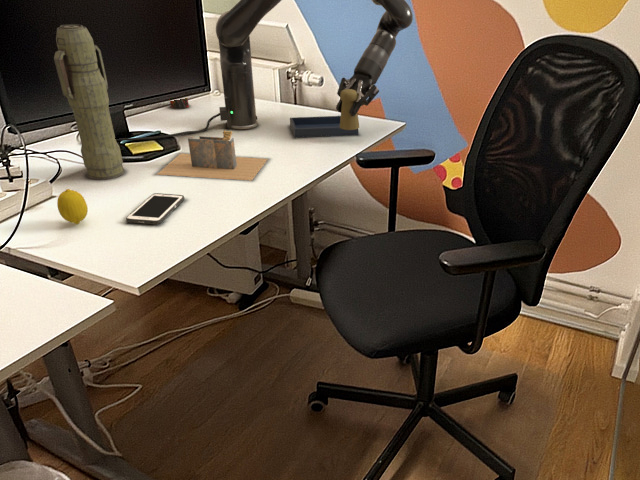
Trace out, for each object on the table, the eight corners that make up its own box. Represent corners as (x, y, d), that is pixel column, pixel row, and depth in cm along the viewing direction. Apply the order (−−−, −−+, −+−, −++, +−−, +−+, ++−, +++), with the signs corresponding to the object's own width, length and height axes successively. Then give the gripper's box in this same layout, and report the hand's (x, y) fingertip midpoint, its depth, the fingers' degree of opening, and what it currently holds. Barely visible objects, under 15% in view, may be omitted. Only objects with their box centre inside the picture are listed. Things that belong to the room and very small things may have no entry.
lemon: (95, 218, 132) (86, 184, 128) (85, 229, 127) (75, 194, 123) (69, 218, 132) (60, 183, 127) (58, 229, 127) (48, 194, 123)
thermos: (74, 178, 151) (34, 27, 132) (107, 163, 160) (74, 21, 141) (104, 184, 148) (67, 31, 130) (135, 168, 158) (105, 24, 139)
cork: (336, 125, 183) (335, 88, 177) (355, 123, 185) (354, 86, 179) (343, 130, 179) (342, 93, 173) (362, 128, 181) (362, 91, 175)
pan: (294, 138, 184) (294, 129, 183) (290, 125, 195) (289, 117, 193) (358, 135, 189) (358, 126, 188) (350, 123, 199) (350, 115, 198)
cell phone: (124, 222, 131) (124, 218, 130) (154, 196, 143) (153, 192, 142) (159, 225, 130) (158, 221, 130) (185, 198, 143) (185, 195, 142)
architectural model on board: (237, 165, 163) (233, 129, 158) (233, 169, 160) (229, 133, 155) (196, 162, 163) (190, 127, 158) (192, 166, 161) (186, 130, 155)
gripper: (348, 52, 180) (320, 100, 179) (384, 60, 173) (356, 110, 171) (359, 68, 186) (333, 115, 185) (395, 76, 179) (368, 124, 178)
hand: (344, 112), depth 178 cm, fingers closed on cork, 4 cm apart
